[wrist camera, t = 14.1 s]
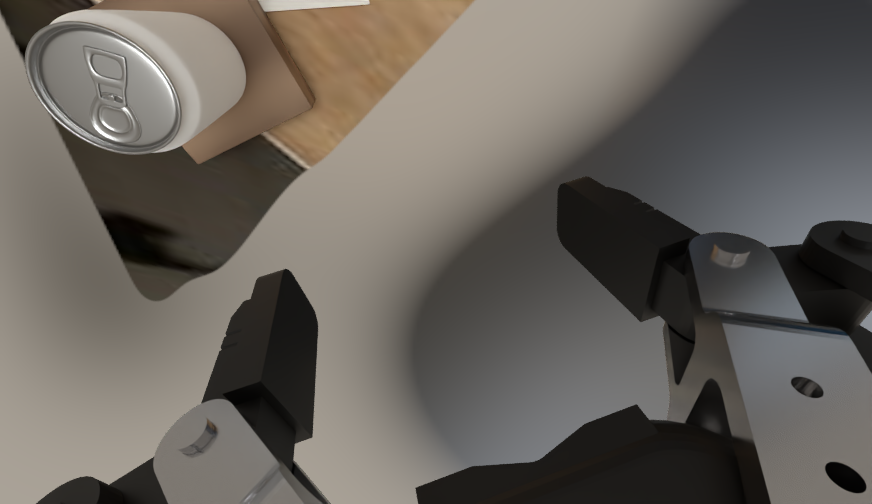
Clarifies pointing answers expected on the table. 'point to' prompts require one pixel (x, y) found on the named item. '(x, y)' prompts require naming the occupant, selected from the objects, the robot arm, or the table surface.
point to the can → (134, 77)
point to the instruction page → (306, 4)
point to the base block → (264, 65)
